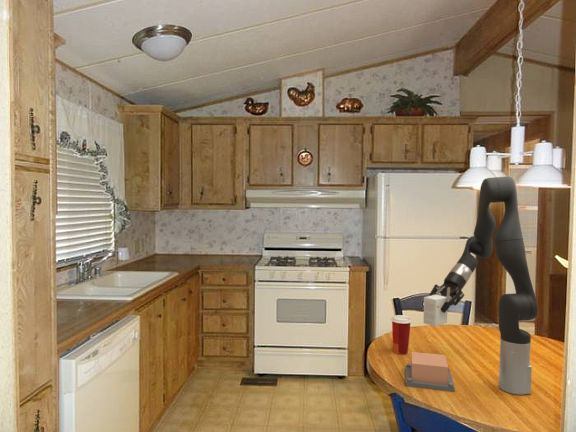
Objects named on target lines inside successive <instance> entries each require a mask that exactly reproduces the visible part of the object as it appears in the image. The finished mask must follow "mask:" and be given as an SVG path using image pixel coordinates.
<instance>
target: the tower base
mask: <svg viewBox="0 0 576 432" xmlns="http://www.w3.org/2000/svg"><path fill="white" fill-rule="evenodd" d="M410 359H411V361H410V363H409V362H408V363H406V364H405V366H404V367H405V386H406V387H410V388H419V389H425V390H426V389H428V390H436V391H444V392H453V393H455V392H456V390H455V389H456V388H455V383H454V380H453V375H452V373H451V370H450V367H449V364H448V362H447V361H448V360H447V357H446V355H445V354H438V353H429V352H428V353H426V352H417V351H411V358H410Z"/></svg>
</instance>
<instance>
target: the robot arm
mask: <svg viewBox="0 0 576 432" xmlns="http://www.w3.org/2000/svg"><path fill="white" fill-rule="evenodd" d="M479 189H480V190H479V198H478V211H477V220H476V223H475V227H474V230H473V235H472V236H470V237H468V238H467V240H466V243H465V246H464V249H463V253H462V254H461V256H460V258H459V259H458V261H456V264H454V265H453V267H452V268H451V269H450V271H449V272H448V274H447V275H446V276H445V278H444V279H443V283H442V284H441V285H438V284H435V285H434V286H433V288H432V289H431V291H430V293H429V295H428V296H432V295H440V296H444V297H447V301H446V302H445V303H444V305H443V306H442V308H441V311H442V312H443V313H445V312H446V311H447V312H448V310H449V309H450V307H451V306H454V307H455V306H457V305H458V304H459V302H461V300H462V299H463V298H464V296H465V294H464V292H463V289H464V287H465V286H466V284H467V283H468V281H469V280H470V279H471V276H472V274H473V272H475V270H476V268H477V266H478V265H479V260H478V259H477V258H476V257H475V256H477V257H479V258H480V259H488V258H490V257H491V255H492V254H493V251H494V247H495V252H496V253H495V254H496V258H497V260H498V261H499V263H500V264H501V266H502V267H503V269H505V271H506V272H507V273H508V275H509V276H510V279H511V280H512V282H513V285H514V289H515V290H514V291H515V293H504V294H503V295H501V296H500V298H499V300H498V329H499V333H500V334H499V335H500V339H499V341H500V343H499V369H498V387H499V389H501V390H502V391H503V392H506V393H508V394H513V395H521V396H522V395H531V392H532V365H531V345H532V344H531V341H532V340H531V339H532V337H531V334H530V333H529V332H528V331H526V330H524V329H522V328H520V322H522V321H532V320H535V318H536V317H537V316H538V312H539V311H538V309H539V307H538V301H537V297H536V293H535V291H534V286H533V284H532V280H531V276H530V271H529V267H528V262H527V255H526V248H525V243H524V242H525V241H524V238H523V232H522V228H521V221H520V216H519V215H520V214H519V203H518V192H517V191H518V190H517V186H516V182H515V180H514V178H513V177H511V176H497V177H487V178H484V179H483V180H482V183H481V185H480V188H479ZM491 203H496V204H497V203H504V215H503V218H502V220H501V222H500V224H499V226H498V228H497V230H496V226H497V225H496V223H497V221H496V218H495V216H494V215H493V213H492V211H491V210H490V204H491ZM495 230H496V232H495ZM494 233H495V234H494ZM493 235H494V239H493ZM493 240H494V242H493ZM472 254H473V255H475V256H473V255H472Z"/></svg>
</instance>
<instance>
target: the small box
mask: <svg viewBox="0 0 576 432" xmlns="http://www.w3.org/2000/svg"><path fill="white" fill-rule="evenodd" d="M446 301H447V297H444V296H441V294H439V295H434V294H433V295H432V296H430V295H428V296H423V321H422V322H423V324H424V325H429V326H432V327H439V326H442V325H445V324H447V323H448V310H447V311H446V312H445V313H443V312H442V311H441V308H442V306H443V305H444V303H445V302H446Z"/></svg>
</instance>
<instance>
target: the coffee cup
mask: <svg viewBox="0 0 576 432" xmlns="http://www.w3.org/2000/svg"><path fill="white" fill-rule="evenodd" d="M390 321H391V322H392V323H391V324H392V326H391V327H392V329H391V330H392V352H393V353H394V354H396V355H402V356H403V355H408V354H409V353H408V352H409V343H410V332H411V323H412V320H411V317H410V316H407V315H402V314H397V315H393V316H392V317H391V319H390Z"/></svg>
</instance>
